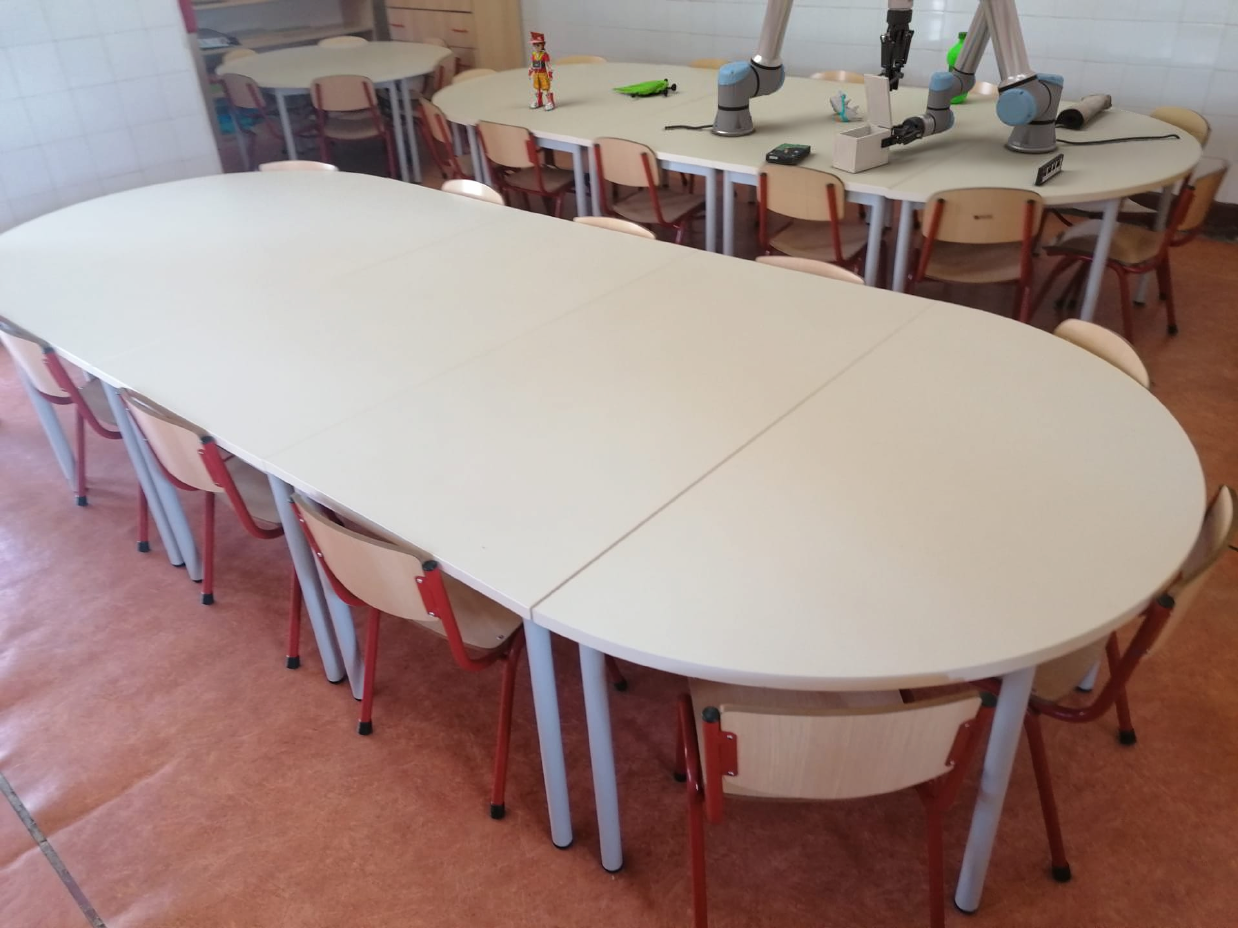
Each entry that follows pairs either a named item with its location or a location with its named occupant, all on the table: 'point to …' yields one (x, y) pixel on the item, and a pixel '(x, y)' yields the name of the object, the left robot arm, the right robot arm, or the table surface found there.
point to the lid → (879, 98)
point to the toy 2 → (648, 88)
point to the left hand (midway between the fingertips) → (890, 90)
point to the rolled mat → (1083, 110)
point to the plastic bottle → (952, 59)
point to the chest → (860, 148)
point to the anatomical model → (844, 107)
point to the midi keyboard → (1049, 169)
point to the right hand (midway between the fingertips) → (870, 140)
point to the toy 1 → (541, 71)
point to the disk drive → (788, 153)
